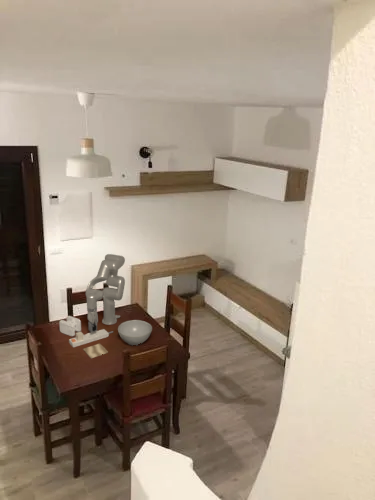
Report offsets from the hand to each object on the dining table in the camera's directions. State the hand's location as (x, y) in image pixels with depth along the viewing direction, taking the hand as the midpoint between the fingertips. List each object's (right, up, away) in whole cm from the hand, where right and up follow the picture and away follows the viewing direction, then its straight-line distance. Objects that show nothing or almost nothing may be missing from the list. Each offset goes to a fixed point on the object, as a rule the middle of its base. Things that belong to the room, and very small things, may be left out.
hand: (92, 328), depth 325 cm
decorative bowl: (+33, -11, +1) cm, 35 cm away
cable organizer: (-20, -5, +9) cm, 23 cm away
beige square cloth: (+6, -14, -15) cm, 21 cm away
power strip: (-1, -8, +2) cm, 9 cm away
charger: (0, -2, +1) cm, 2 cm away
